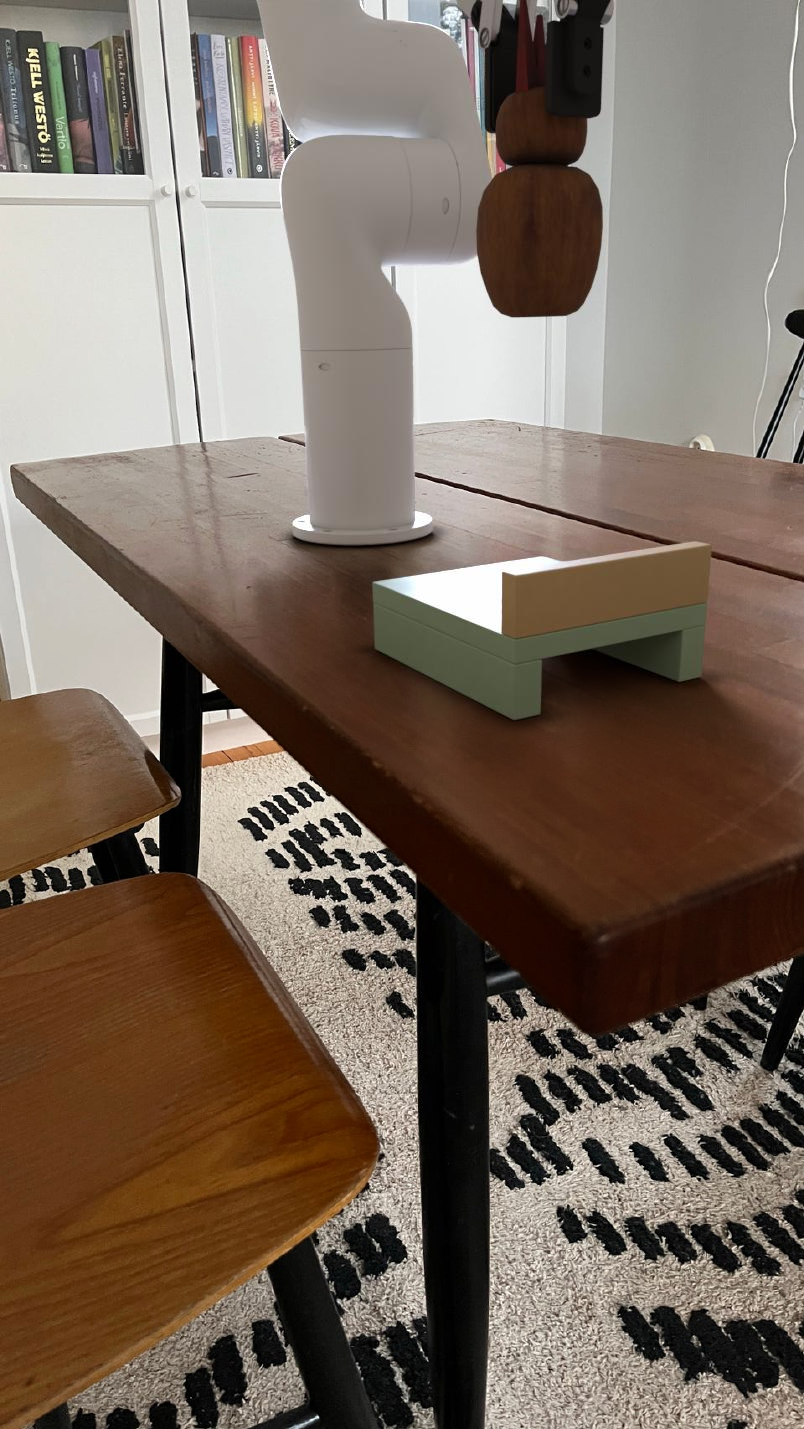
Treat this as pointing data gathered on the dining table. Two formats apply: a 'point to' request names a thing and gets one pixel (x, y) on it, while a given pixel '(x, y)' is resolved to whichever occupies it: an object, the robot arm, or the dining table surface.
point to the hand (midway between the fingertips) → (541, 121)
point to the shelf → (546, 619)
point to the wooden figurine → (538, 200)
